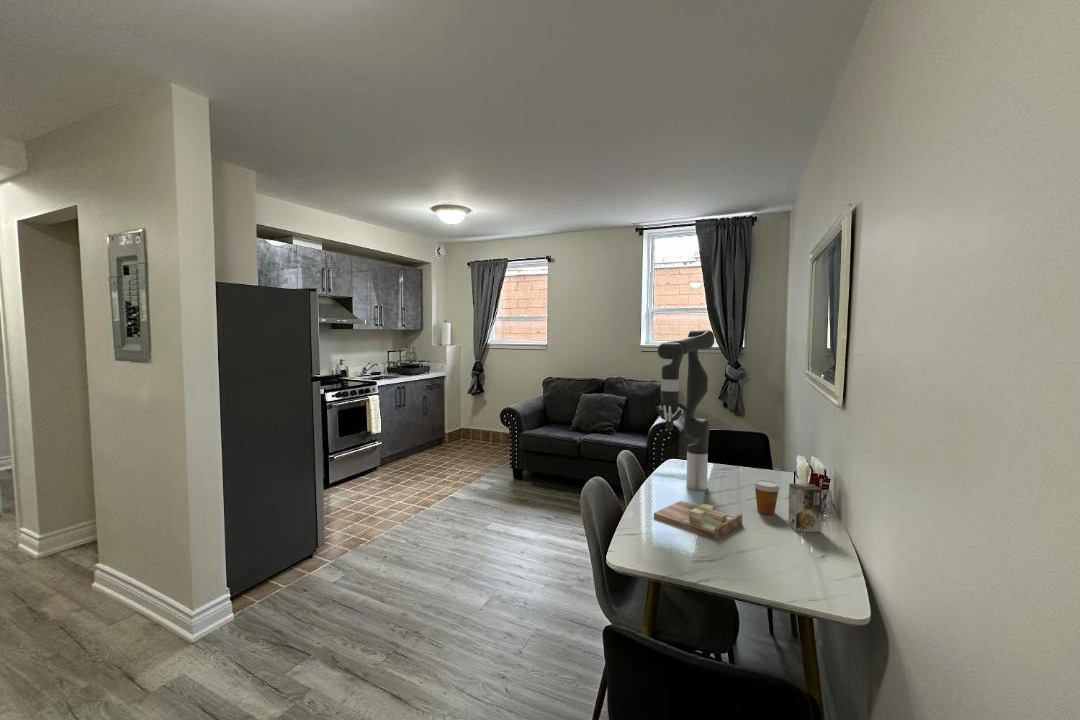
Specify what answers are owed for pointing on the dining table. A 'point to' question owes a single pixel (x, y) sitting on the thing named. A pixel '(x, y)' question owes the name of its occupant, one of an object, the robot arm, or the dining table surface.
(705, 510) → the t block
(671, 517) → the board
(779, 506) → the dining table surface
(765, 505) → the disposable coffee cup
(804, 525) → the cracker box
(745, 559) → the dining table surface
